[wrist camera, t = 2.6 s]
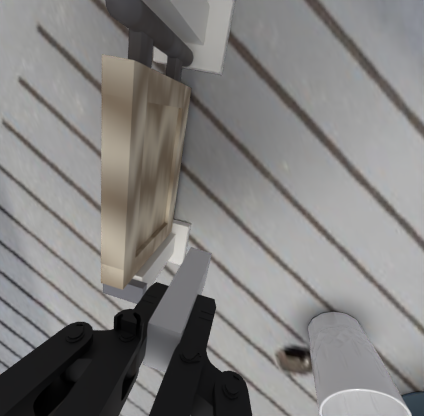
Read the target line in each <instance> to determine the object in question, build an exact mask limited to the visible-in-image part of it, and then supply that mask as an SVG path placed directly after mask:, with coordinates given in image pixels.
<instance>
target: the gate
mask: <svg viewBox="0 0 424 416" xmlns="http://www.w3.org/2000/svg"><path fill="white" fill-rule="evenodd" d="M106 7H107V10H108V12H109V13H110V15H111V16H112V17H113V18H115V19H116V20H117V21H119V22H120V23H122V24H123V25H125V26H126V27H127V28H129V48H128V59H125V58H119V57H114V56H109V55H103V54H102V138H101V283H103V284H106V285H109V286H112V287H116V288H119V289H122V290H123V289H124V288H125V287H126V285H127V284H128V283H129V282H130V281H131V279H132V278H133V277H134V276H135V275H136V273H137V272H138V271H139V270H140V269H141V267H142V266H143V265H144V264H145V263H146V261H147V260H148V259H149V258H150V257H151V256H152V254H153V253H154V252H155V251H156V250H157V248H158V247H159V246H160V245H161V244H162V242H163V241H164V240H165V239H166V238H167V236H168V235H169V234H170V233H171V232H172V224H173V217H174V210H175V203H176V195H177V188H178V181H179V174H180V167H181V159H182V152H183V145H184V138H185V130H186V123H187V116H188V109H189V102H190V94H191V88H190V87H188V86H186V85H184V84H182V83H180V80H181V72H182V66H183V67H188V66H190V65H191V64H192V62H193V58H194V57H193V52H192V51H191V49H190V48H189V47H188V46H187V45H186V44H185V43H184V42H183V41H182V40H181V39H180V38H179V37H178V36H177V35H176V34H175V33H174V32H173V31H172V30H171V29H170V28H169V27H168V26H167V25H166V24H165V23H164V22H163V21H162V20H161V19H160V18H159V17H158V16H157V15H156V14H155V13H154V12H153V11H152V10H151V9H150V8H149V7H148V6H147V5H146V4H145V3H144V2H143V1H142V0H106ZM153 46H154V47H156V48H157V49H159V50H160V51H161V52H163V53H164V54H166V55H167V56H168V57H167V67H166V75H164V74H162V73H159V72H157V71H155V70H153V69H151V65H152V52H153Z"/></svg>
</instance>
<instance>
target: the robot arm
mask: <svg viewBox="0 0 424 416" xmlns="http://www.w3.org/2000/svg"><path fill="white" fill-rule="evenodd" d="M211 254H212V253H209V252H206V251H202V250H198V249H195V248H190V250H189V252H188V254H187V255H186V257H185V259H184V261H183V262H182V264H181V266H180V268H179V269H178V271H177V273H176V275H175V276H174V278H173V280H172V282H171V283H170V285H169V286H167V285H164V284H161V283H157V282H156V283H154V284H153V285H151V286H150V287H149V288H148V289H147V291H146V292H145V294H144V295H143V297H142V298H141V300H140V301H139V302H138V304H137V305H136V307H135V308H134V309H126V310H123V311H121V312H119V313H118V314H116V315H115V316H114V329H112V330H93V329H92V327H91V325H90V324H88V323H86V322H75V323H72V324H70V325H68V326H66V327H64V328H63V329H62V330H60V331H59V332H58V333H56V334H55V335H54V336H52V337H51V338H50V339H48V340H47V341H45V342H44V343H43V344H41V345H40V346H39V347H37V348H36V349H35V350H33V351H32V352H31V353H29V354H28V355H26V356H25V357H24V358H22V359H21V360H20V361H18V362H17V363H16V364H14V365H13V366H12V367H10V368H9V369H7V370H6V371H5V372H3V373H2V374H1V375H0V416H119V414H120V412H121V409H122V407H123V405H124V403H125V401H126V399H127V397H128V395H129V393H130V391H131V389H132V387H133V385H134V383H135V381H136V379H137V376H138V372H139V367H140V365H141V363H142V361H143V359H144V361H143V365H145V366H148V367H151V368H154V369H157V370H160V371H163V372H165V375H164V378H163V380H162V383H161V386H160V388H159V391H158V393H157V396H156V399H155V401H154V404H153V406H152V409H151V412H150V414H149V416H190V415H191V416H252V411H251V405H250V399H249V393H248V388H247V385H246V382H245V381H244V380H243V378H242V377H241V376H240V375H239V374H237V373H236V372H233V371H224V372H221V371H220V370H218V369H217V368H216V367H215V366H214V365H212V364H211V362H210V361H209V359H208V357H207V352H206V348H207V343H208V339H209V335H210V331H211V326H212V322H213V318H214V314H215V310H216V304H215V300H214V299H212V298H209V297H205V296H202V295H201V294H202V291H203V288H204V285H205V281H206V276H207V272H208V268H209V263H210V259H211Z"/></svg>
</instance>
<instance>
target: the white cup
mask: <svg viewBox="0 0 424 416" xmlns="http://www.w3.org/2000/svg"><path fill="white" fill-rule="evenodd" d="M308 334H309V341H310V354H311V362H312V369H313V375H314V382H315V388H316V395H317V401H318V408H319V414H320V416H412V414H411V412H410V410H409V409H408V407H407V405H406V403H405V401H404V400H403V398H402V396H401V394H400V393H399V391H398V389H397V387H396V385H395V384H394V382H393V380H392V378H391V376H390V374H389V373H388V371H387V369H386V367H385V365H384V364H383V362H382V360H381V358H380V357H379V355H378V353H377V352H376V350H375V348H374V347H373V345H372V343H371V341H370V340H369V339H368V338H367V336H366V334H365V332H364V330H363V328H362V327H361V326H360V324H359V323H358V321H357V320H356V319H355V318H353V317H351V316H349V315H347V314H345V313H339V312H328V313H322V314H320V315H318V316H317V317H315V318H313V319H312V321H311V322H310V324H309V326H308Z"/></svg>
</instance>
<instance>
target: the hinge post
mask: <svg viewBox="0 0 424 416" xmlns="http://www.w3.org/2000/svg"><path fill="white" fill-rule="evenodd" d="M142 1H143V2H144V3H145V4H146V5H147V6H148V7H149V8H150V9H151V10H152V11H153V12H154V13H155V14H156V15H157V16H158V17H159V18H160V19H161V20H162V21H163V22H164V23H165V24H166V25H167V26H168V27H169V28H170V29H171V30H172V31H173V32H174V33H175V34H176V35H177V36H178V37H179V38H180V39H181V40H182V41H183V42H184V43H185V44H186V45H187V46H188V47H189V48H190V49H191V51H192V52H193V57H194V58H193V62H192V64H191V65H190V66H188V67H183V66H182V68H187V69H192V70H197V71H203V72H208V73H213V74H219V75H222V71H223V66H224V60H225V55H226V49H227V44H228V38H229V33H230V27H231V21H232V16H233V10H234V5H235V0H142ZM167 57H168V56H167V55H166V54H164V53H163V52H161V51H160V50H159V49H157V48H156V47H154V57H153V61H155V62H156V63H160V64H165V65H167Z"/></svg>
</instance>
